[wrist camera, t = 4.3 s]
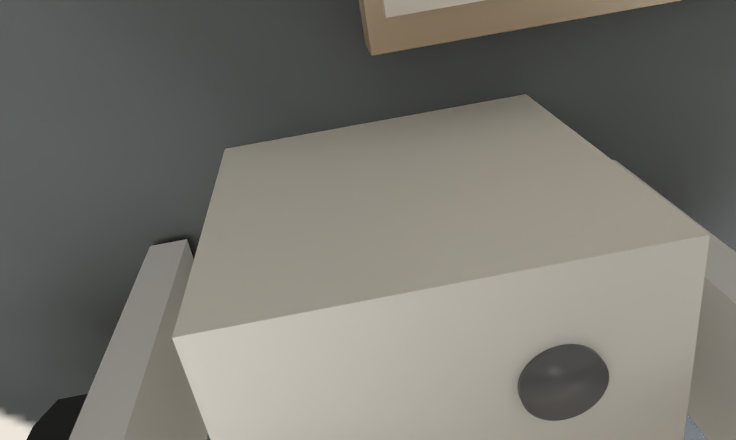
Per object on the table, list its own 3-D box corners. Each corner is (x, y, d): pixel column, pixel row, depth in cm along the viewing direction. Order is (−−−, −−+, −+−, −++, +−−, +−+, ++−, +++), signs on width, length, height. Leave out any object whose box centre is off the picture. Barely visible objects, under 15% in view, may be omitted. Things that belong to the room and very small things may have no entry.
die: (225, 147, 12) (169, 344, 6) (524, 93, 12) (716, 240, 7) (289, 379, 15) (288, 654, 9) (531, 331, 15) (671, 573, 9)
